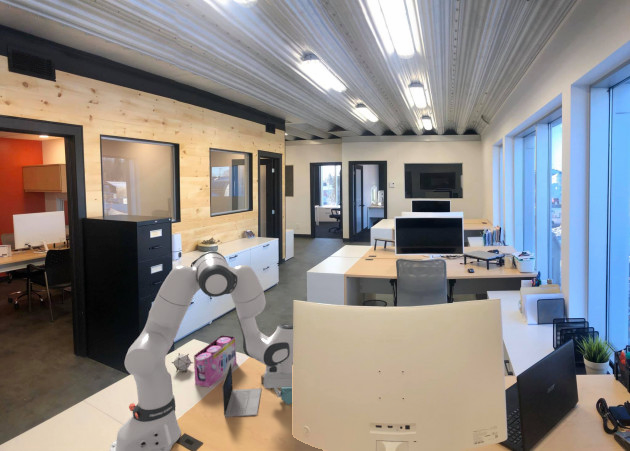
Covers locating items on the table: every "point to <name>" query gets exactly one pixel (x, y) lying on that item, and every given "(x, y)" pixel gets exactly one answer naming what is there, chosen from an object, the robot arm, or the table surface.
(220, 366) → the gum box
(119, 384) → the table surface
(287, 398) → the teal cube
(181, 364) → the grey spiked polyhedron
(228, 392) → the laptop
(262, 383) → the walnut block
